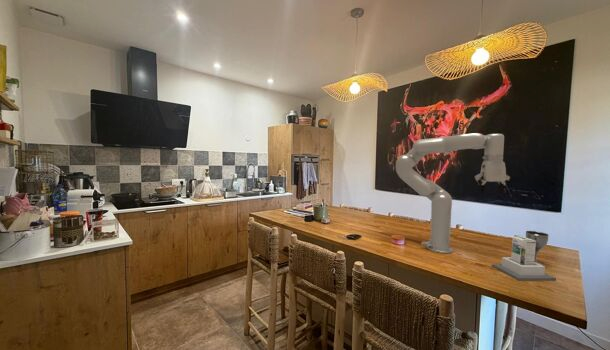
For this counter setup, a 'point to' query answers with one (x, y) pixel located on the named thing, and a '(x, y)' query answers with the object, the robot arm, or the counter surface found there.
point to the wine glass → (538, 241)
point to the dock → (523, 270)
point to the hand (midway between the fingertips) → (491, 193)
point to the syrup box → (523, 250)
